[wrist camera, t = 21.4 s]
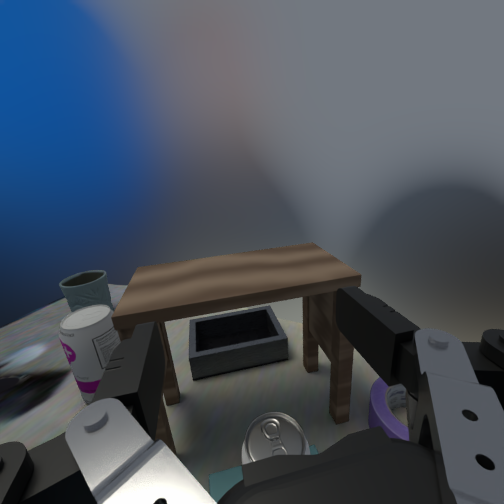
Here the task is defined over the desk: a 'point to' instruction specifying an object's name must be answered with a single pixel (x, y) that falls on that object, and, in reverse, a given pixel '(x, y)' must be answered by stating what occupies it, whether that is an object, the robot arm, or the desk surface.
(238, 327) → the box
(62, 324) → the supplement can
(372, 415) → the tape roll
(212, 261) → the small wooden table
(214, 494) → the pad
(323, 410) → the desk surface
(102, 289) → the grey green cup
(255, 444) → the can
